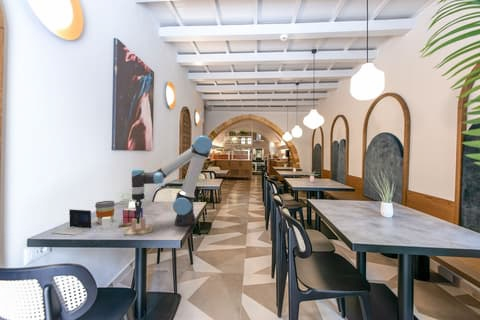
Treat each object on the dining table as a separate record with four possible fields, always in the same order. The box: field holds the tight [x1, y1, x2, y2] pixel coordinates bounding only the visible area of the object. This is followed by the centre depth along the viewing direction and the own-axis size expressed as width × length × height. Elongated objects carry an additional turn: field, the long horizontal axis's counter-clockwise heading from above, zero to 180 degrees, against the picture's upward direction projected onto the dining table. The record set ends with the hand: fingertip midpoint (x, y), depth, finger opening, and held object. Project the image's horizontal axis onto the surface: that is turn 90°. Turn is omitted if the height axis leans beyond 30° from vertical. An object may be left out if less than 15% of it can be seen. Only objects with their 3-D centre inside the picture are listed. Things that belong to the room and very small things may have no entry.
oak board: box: [123, 224, 153, 237], centre depth 157 cm, size 16×14×1 cm
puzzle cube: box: [122, 206, 144, 223], centre depth 178 cm, size 10×10×10 cm
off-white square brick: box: [101, 217, 112, 230], centre depth 165 cm, size 5×5×7 cm
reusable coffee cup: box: [94, 200, 116, 225], centre depth 178 cm, size 13×13×15 cm
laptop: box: [52, 208, 92, 236], centre depth 158 cm, size 18×12×13 cm
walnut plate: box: [118, 222, 132, 229], centre depth 169 cm, size 8×5×2 cm, turn 113°
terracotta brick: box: [131, 216, 147, 231], centre depth 157 cm, size 8×5×7 cm, turn 111°
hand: (138, 225), depth 157 cm, fingers open, 13 cm apart
